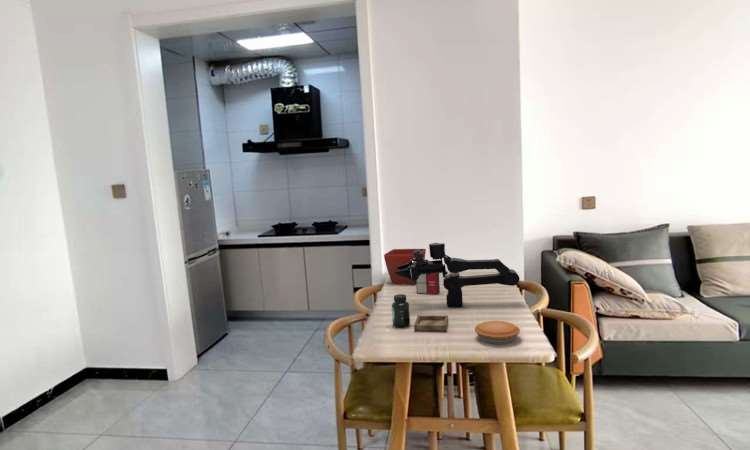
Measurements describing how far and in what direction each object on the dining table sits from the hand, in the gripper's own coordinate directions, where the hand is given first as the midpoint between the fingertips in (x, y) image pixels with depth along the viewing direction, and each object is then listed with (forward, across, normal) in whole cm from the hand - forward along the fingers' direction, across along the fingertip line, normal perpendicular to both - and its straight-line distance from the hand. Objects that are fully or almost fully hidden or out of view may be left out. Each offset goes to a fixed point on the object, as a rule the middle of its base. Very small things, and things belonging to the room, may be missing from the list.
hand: (396, 270), depth 208 cm
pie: (-37, +42, +18) cm, 59 cm away
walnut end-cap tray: (-14, +28, +17) cm, 36 cm away
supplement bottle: (-2, +26, +16) cm, 31 cm away
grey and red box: (-12, -21, +18) cm, 30 cm away
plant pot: (0, -46, +18) cm, 50 cm away
